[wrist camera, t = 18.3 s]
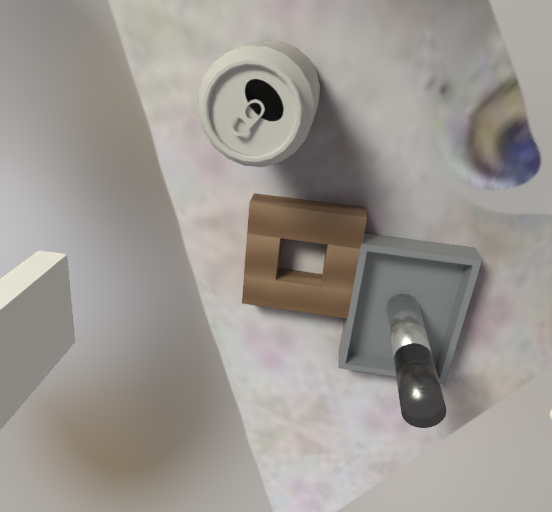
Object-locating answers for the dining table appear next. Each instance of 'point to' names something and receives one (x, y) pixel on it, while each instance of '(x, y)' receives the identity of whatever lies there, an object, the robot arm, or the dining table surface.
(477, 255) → the tray
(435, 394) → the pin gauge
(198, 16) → the dining table surface
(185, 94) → the dining table surface
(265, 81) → the can
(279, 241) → the plate
